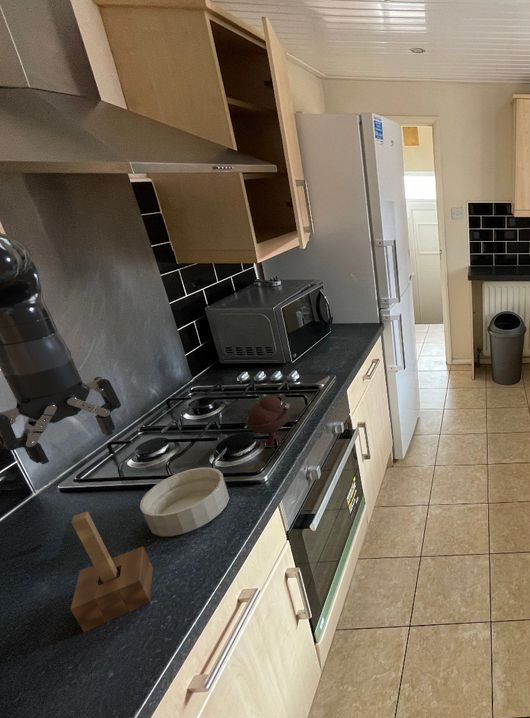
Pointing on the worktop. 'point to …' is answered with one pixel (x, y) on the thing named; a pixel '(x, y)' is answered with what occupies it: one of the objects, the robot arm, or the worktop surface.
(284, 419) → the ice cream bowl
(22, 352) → the robot arm
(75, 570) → the worktop surface
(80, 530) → the stick
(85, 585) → the stick holder
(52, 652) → the worktop surface
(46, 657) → the worktop surface
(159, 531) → the mixing bowl
